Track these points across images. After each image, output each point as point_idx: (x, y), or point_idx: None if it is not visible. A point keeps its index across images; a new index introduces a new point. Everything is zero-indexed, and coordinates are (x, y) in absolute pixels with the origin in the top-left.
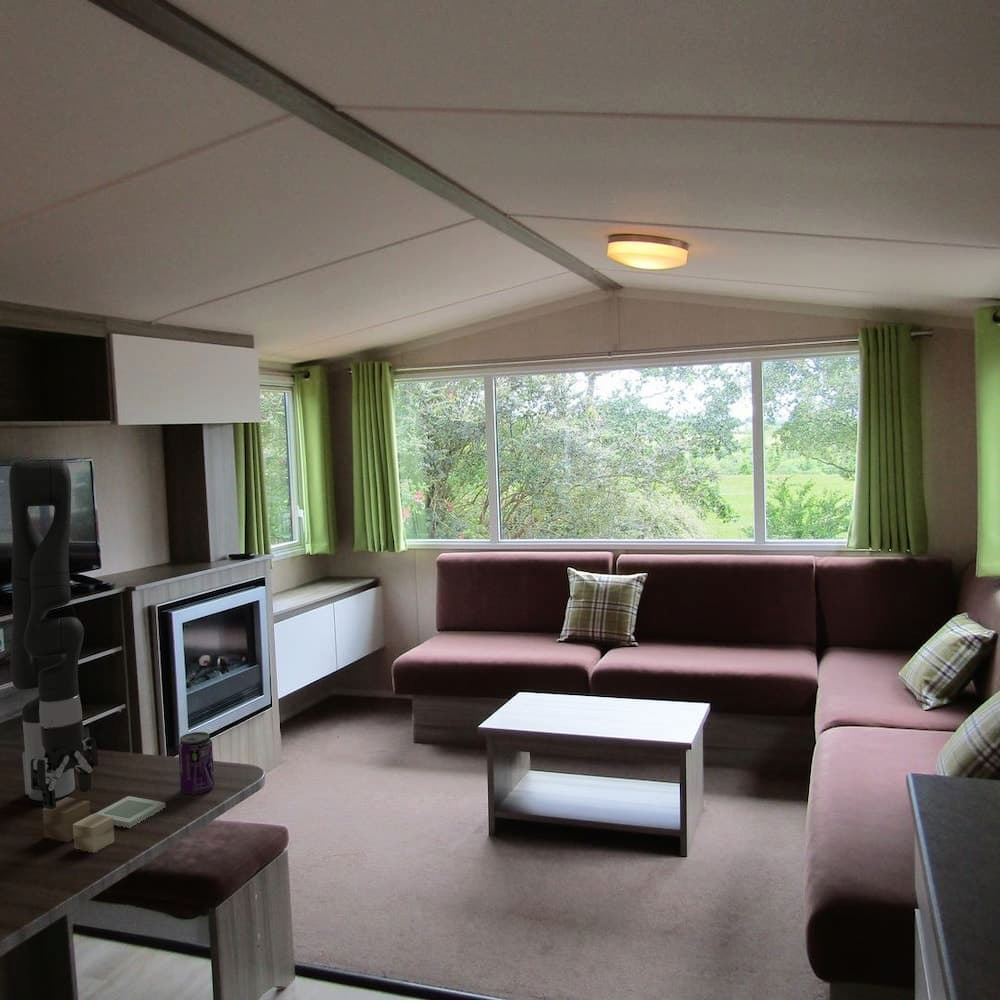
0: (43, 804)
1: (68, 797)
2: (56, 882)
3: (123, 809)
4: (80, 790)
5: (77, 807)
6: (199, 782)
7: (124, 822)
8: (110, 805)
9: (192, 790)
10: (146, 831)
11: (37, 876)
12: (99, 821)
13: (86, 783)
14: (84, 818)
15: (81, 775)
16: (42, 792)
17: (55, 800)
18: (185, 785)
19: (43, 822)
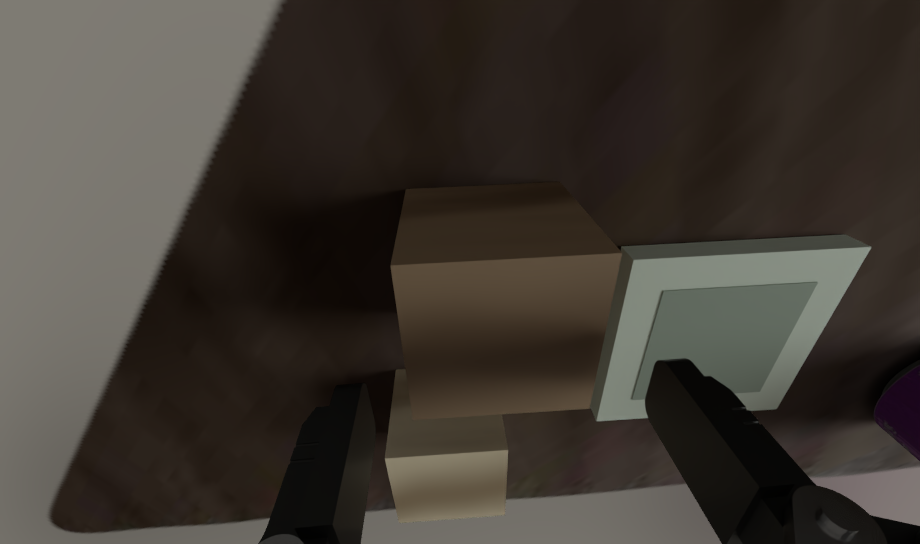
0: (304, 427)
1: (615, 269)
2: (230, 468)
3: (704, 337)
4: (661, 363)
5: (501, 412)
6: (916, 457)
7: (599, 401)
8: (753, 253)
9: (883, 419)
10: (580, 448)
11: (206, 411)
12: (454, 507)
13: (679, 461)
14: (453, 455)
15: (735, 495)
16: (268, 533)
17: (367, 483)
18: (914, 415)
19: (400, 221)
